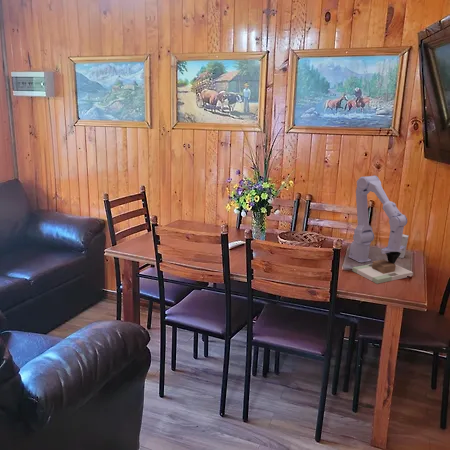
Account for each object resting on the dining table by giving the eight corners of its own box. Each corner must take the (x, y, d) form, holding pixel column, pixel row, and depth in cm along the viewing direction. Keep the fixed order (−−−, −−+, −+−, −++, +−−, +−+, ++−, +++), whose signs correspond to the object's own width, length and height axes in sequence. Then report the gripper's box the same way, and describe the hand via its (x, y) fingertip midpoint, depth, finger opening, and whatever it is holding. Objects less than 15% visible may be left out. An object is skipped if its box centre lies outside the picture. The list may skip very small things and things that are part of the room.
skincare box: (391, 256, 239) (395, 234, 235) (393, 253, 243) (396, 232, 239) (403, 258, 236) (407, 237, 232) (405, 256, 240) (408, 235, 236)
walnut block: (371, 268, 215) (372, 261, 214) (382, 265, 219) (383, 259, 218) (383, 273, 209) (384, 266, 208) (394, 271, 212) (395, 264, 211)
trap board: (352, 271, 216) (352, 267, 215) (386, 264, 226) (387, 260, 226) (377, 283, 202) (377, 279, 202) (412, 276, 213) (413, 272, 212)
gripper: (391, 243, 205) (386, 270, 209) (412, 240, 212) (407, 266, 216) (379, 239, 211) (375, 265, 215) (400, 235, 218) (396, 261, 222)
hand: (390, 265), depth 216 cm, fingers closed
